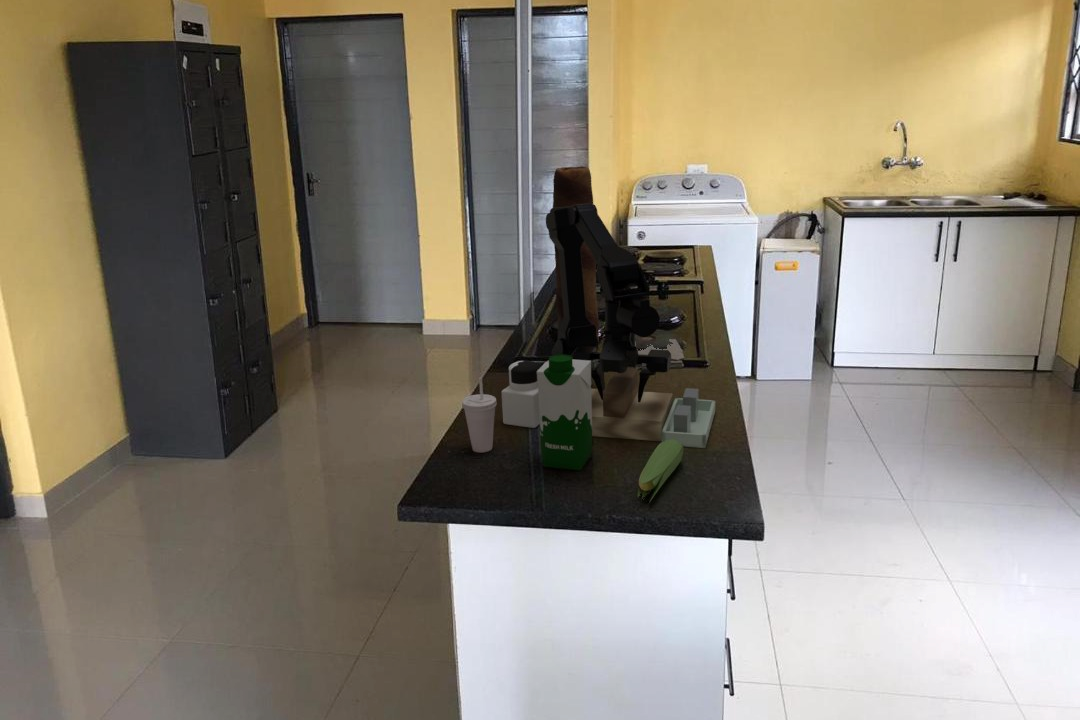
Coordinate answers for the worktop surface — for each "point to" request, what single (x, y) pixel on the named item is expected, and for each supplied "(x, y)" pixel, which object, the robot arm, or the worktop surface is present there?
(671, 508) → the worktop surface
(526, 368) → the medicine bottle
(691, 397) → the tile
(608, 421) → the board
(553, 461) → the milk carton
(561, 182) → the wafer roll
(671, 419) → the tray
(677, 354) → the washcloth
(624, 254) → the robot arm
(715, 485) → the worktop surface
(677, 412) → the tile
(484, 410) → the smoothie
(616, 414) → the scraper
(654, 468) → the edible corn
